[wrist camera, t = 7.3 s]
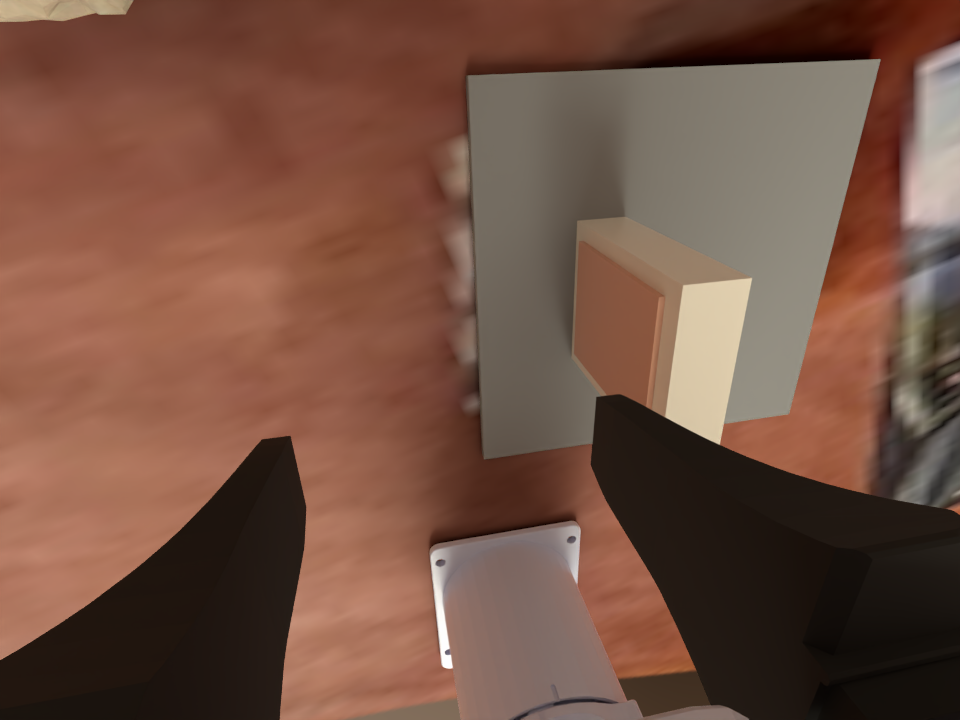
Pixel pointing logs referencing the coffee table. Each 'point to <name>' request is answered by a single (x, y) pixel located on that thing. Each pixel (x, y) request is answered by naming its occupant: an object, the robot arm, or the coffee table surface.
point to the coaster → (657, 322)
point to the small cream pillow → (58, 9)
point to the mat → (651, 216)
